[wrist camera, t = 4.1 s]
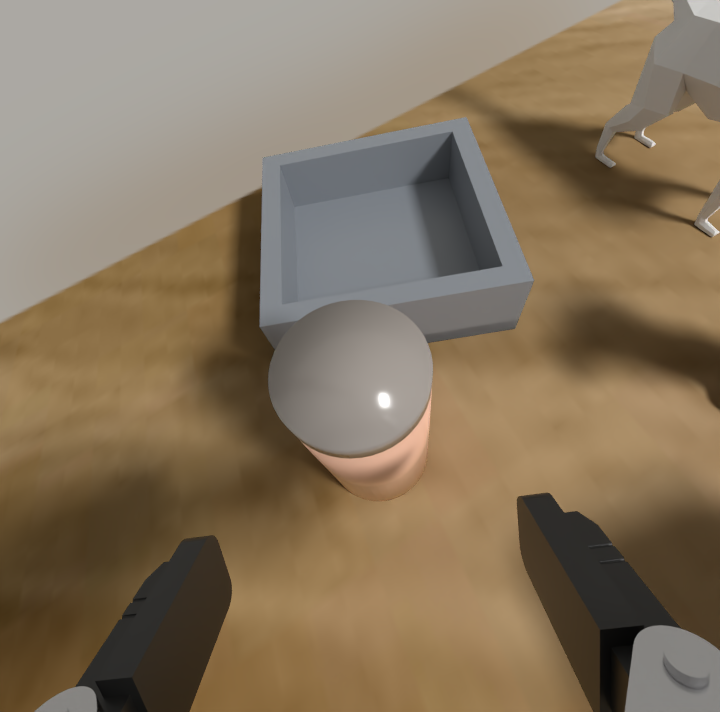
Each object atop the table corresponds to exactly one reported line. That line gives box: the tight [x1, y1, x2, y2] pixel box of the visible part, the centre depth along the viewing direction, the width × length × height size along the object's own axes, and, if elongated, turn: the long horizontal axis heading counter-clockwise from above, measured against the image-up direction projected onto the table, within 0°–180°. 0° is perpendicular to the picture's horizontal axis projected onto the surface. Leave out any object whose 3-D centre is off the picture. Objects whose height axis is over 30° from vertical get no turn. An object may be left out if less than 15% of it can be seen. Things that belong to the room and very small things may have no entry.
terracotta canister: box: [268, 300, 433, 501], centre depth 17 cm, size 5×5×10 cm
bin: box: [260, 117, 534, 349], centre depth 25 cm, size 14×14×4 cm
